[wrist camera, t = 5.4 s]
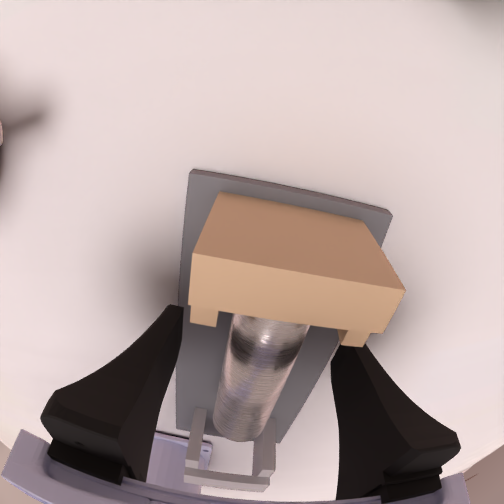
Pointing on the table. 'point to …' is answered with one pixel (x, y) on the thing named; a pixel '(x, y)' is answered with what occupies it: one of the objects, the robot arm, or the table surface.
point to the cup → (1, 134)
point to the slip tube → (254, 373)
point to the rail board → (215, 338)
